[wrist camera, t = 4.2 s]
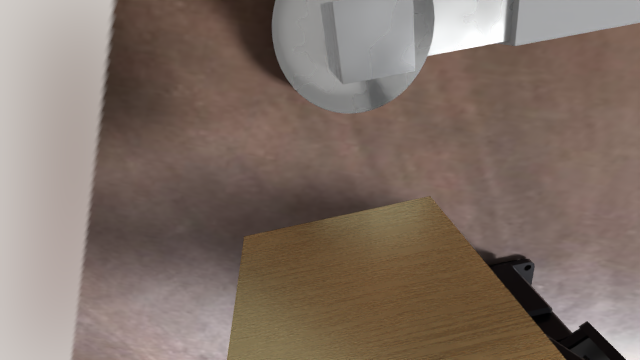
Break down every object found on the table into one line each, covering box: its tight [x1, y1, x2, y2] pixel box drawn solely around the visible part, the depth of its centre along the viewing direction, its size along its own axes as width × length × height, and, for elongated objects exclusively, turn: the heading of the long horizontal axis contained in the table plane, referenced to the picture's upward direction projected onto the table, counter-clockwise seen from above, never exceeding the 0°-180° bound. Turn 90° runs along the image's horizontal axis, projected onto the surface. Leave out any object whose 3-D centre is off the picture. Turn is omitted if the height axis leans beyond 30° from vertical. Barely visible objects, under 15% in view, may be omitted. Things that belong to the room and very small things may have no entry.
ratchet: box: [272, 0, 640, 113], centre depth 14 cm, size 16×7×6 cm, turn 99°
